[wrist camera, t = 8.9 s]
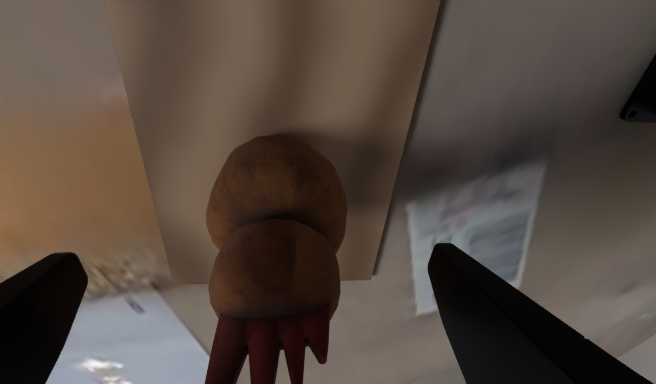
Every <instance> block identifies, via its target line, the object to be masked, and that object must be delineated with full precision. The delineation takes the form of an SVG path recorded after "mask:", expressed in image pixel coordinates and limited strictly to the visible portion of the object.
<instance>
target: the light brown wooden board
mask: <svg viewBox="0 0 656 384" xmlns="http://www.w3.org/2000/svg"><path fill="white" fill-rule="evenodd" d="M440 1H441V0H104V4H105V9H106V13H107V17H108V21H109V25H110V29H111V33H112V37H113V41H114V45H115V49H116V53H117V57H118V61H119V65H120V69H121V73H122V77H123V81H124V85H125V89H126V93H127V97H128V101H129V105H130V109H131V113H132V117H133V121H134V126H135V130H136V134H137V138H138V142H139V146H140V150H141V154H142V158H143V162H144V166H145V170H146V174H147V178H148V182H149V186H150V190H151V194H152V198H153V202H154V206H155V210H156V214H157V218H158V222H159V226H160V230H161V234H162V239H163V243H164V247H165V251H166V255H167V259H168V263H169V267H170V271H171V275H172V279H173V283H174V284H209V283H210V277H211V272H212V269H213V266H214V263H215V259H216V257H217V255H218V253H219V251H220V250H219V249H218V248H217V247H216V246H215V245H214V244H213V242H212V240H211V237H210V234H209V232H208V229H207V226H206V210H207V206H208V202H209V198H210V194H211V191H212V188H213V186H214V183H215V181H216V179H217V177H218V175H219V173H220V171H221V169H222V167H223V165H224V164H225V162H226V160H227V158H228V156H229V155H230V153H231V152H232V151H233V150H234V149H235V148H236V147H238V146H240V145H242V144H244V143H246V142H247V141H249V140H251V139H253V138H255V137H257V136H269V135H281V136H287V137H292V138H294V139H297V140H299V141H301V142H303V143H305V144H307V145H308V146H310V147H311V148H313V149H314V150H316V151H317V152H319V153H320V154H321V155H323V156H324V157H326V158H327V159H328V160H329V161H330V162H331V163H332V165H333V166H334V167H335V169H336V172H337V174H338V176H339V179H340V181H341V183H342V186H343V189H344V192H345V195H346V201H347V220H346V230H345V237H344V239H343V241H342V243H341V246H340V248H339V250H338V252H337V253H336V257H337V261H338V264H339V272H340V281H347V280H371V277H372V273H373V269H374V265H375V261H376V257H377V253H378V249H379V245H380V241H381V237H382V233H383V229H384V225H385V221H386V217H387V213H388V209H389V205H390V201H391V197H392V193H393V189H394V185H395V181H396V177H397V173H398V169H399V165H400V161H401V157H402V153H403V149H404V145H405V141H406V137H407V133H408V129H409V125H410V121H411V117H412V113H413V109H414V105H415V101H416V97H417V93H418V89H419V85H420V81H421V77H422V73H423V69H424V65H425V61H426V57H427V53H428V49H429V45H430V41H431V37H432V33H433V29H434V25H435V21H436V17H437V13H438V9H439V5H440Z"/></svg>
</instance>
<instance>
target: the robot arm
mask: <svg viewBox="0 0 656 384" xmlns="http://www.w3.org/2000/svg"><path fill="white" fill-rule="evenodd" d="M620 118H621V119H623V120H625V121H628V122H651V123H656V55H655V56H654V58H653V60H652V61H651V63H650V65H649V66H648V68H647V70H646V71H645V73H644V75H643V76H642V78H641V80H640V81H639V83H638V84H637V86H636V88H635V89H634V91H633V93H632V94H631V96H630V98H629V99H628V101H627V103H626V104H625V106H624V108H623V109H622V111H621V113H620ZM428 274H429V277H430V281H431V284H432V288H433V292H434V295H435V299H436V302H437V306H438V309H439V313H440V316H441V320H442V323H443V326H444V328H445V331H446V334H447V336H448V339H449V341H450V344H451V346H452V349H453V351H454V354H455V356H456V359H457V361H458V364H459V366H460V369H461V371H462V374H463V376H464V379H465V381H466V384H653V383H652V382H650V381H649V380H647V379H646V378H644V377H643V376H641V375H639V374H638V373H636V372H635V371H633V370H632V369H630V368H629V367H627V366H626V365H625V364H623V363H621V362H620V361H619V360H617V359H616V358H614V357H613V356H611V355H610V354H609V353H607V352H606V351H604V350H603V349H601V348H600V347H598V346H597V345H596V344H594V343H593V342H591V341H590V340H589V339H585V338H584V336H583V335H581V334H580V333H578V332H577V331H576V330H574V329H573V328H571V327H570V326H568V325H567V324H566V323H564V322H563V321H561V320H560V319H559V318H557V317H556V316H554V315H553V314H551V313H550V312H549V311H547V310H546V309H544V308H543V307H541V306H540V305H539V304H537V303H536V302H534V301H533V300H532V299H530V298H529V297H527V296H526V295H524V294H523V293H522V292H520V291H519V290H517V289H516V288H514V287H513V286H512V285H510V284H509V283H507V282H506V281H505V280H503V279H502V278H500V277H499V276H497V275H496V274H495V273H493V272H492V271H490V270H489V269H487V268H486V267H485V266H483V265H482V264H480V263H479V262H477V261H476V260H475V259H473V258H472V257H470V256H469V255H468V254H466V253H465V252H463V251H462V250H460V249H459V248H458V247H456V246H455V245H453V244H451V243H438V244H436V245H435V246H434V248H433V251H432V254H431V257H430V260H429V263H428ZM87 284H88V277H87V274H86V272H85V270H84V268H83V266H82V264H81V262H80V260H79V258H78V256H77V255H76V254H75V253H72V252H63V253H53V254H50V255H49V256H47V257H45V258H43V259H42V260H40V261H38V262H36V263H35V264H33V265H31V266H29V267H28V268H26V269H24V270H23V271H21V272H19V273H17V274H16V275H14V276H12V277H10V278H9V279H7V280H5V281H3V282H2V283H0V384H45V383H46V381H47V379H48V377H49V375H50V373H51V371H52V370H53V368H54V366H55V364H56V362H57V360H58V358H59V355H60V353H61V351H62V349H63V347H64V345H65V342H66V340H67V337H68V335H69V332H70V330H71V327H72V324H73V322H74V319H75V316H76V314H77V311H78V309H79V306H80V303H81V301H82V298H83V295H84V293H85V290H86V288H87Z"/></svg>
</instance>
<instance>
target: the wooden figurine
mask: <svg viewBox="0 0 656 384" xmlns="http://www.w3.org/2000/svg"><path fill="white" fill-rule="evenodd" d="M346 220H347V201H346V195H345V192H344V189H343V186H342V183H341V181H340V179H339V176H338V174H337V172H336V169H335V167H334V166H333V165H332V163H331V162H330V161H329V160H328V159H327V158H326V157H324V156H323V155H321V154H320V153H319V152H317V151H316V150H314V149H313V148H311V147H310V146H308V145H307V144H305V143H303V142H301V141H299V140H297V139H294V138H292V137H287V136H281V135H269V136H257V137H255V138H253V139H251V140H249V141H247V142H246V143H244V144H242V145H240V146H238V147H236V148H235V149H234V150H233V151H232V152H231V153H230V155H229V156H228V158H227V160H226V162H225V164H224V165H223V167H222V169H221V171H220V173H219V175H218V177H217V179H216V181H215V183H214V186H213V188H212V191H211V194H210V198H209V202H208V206H207V210H206V226H207V229H208V232H209V234H210V237H211V240H212V242H213V244H214V245H215V246H216V247H217V248H218V249H219V250H220V251H219V253H218V255H217V257H216V259H215V263H214V266H213V269H212V272H211V277H210V283H209V295H210V302H211V305H212V307H213V309H214V311H215V313H216V315H217V317H218V318H219V320H218V324H217V329H216V333H215V337H214V341H213V346H212V350H211V355H210V360H209V365H208V370H207V375H206V380H205V384H236V382H237V380H238V377H239V375H240V372H241V369H242V367H243V364H244V362H245V359H246V356H247V354H249V364H250V378H251V384H275V380H276V374H277V367H278V361H279V354H280V350H282V349H283V350H284V353H285V357H286V362H287V366H288V371H289V376H290V380H291V384H303V373H304V359H305V347H306V346H309V347H310V349H311V350H312V352H313V354H314V355H315V357H316V359H317V361H318V362H319V363H320V364H325V363H326V362H327V353H328V344H329V321H330V320H331V318H332V316H333V314H334V312H335V311H336V309H337V306H338V302H339V297H340V272H339V264H338V261H337V257H336V253H337V252H338V250H339V248H340V246H341V243H342V241H343V239H344V237H345V230H346Z"/></svg>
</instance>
